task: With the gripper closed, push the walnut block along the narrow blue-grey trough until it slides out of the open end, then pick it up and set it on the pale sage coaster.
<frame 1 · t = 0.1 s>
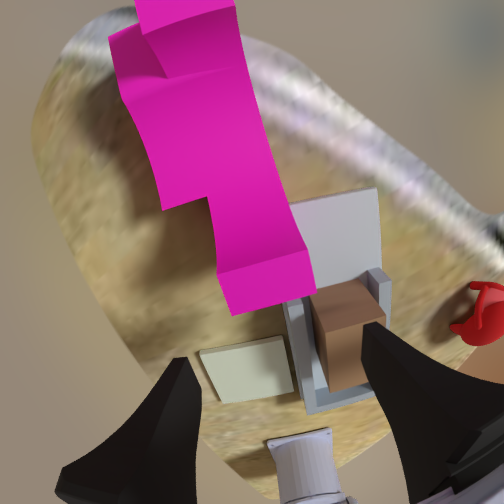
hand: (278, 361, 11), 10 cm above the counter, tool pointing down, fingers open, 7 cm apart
magenta cradle bracket: (210, 142, 17), on the counter, touching trough deck
red rounded piece: (469, 301, 24), on the counter
walnut block: (336, 316, 22), point 1 cm above the counter, touching trough deck
sage coaster: (249, 371, 24), on the counter
trough deck: (334, 312, 22), on the counter
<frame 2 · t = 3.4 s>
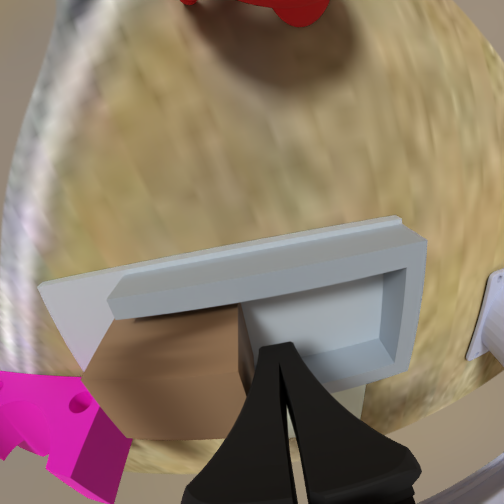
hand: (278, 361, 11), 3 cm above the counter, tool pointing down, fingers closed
magenta cradle bracket: (64, 401, 17), on the counter, touching trough deck
walnut block: (186, 334, 14), point 1 cm above the counter, touching gripper, trough deck
sage coaster: (312, 402, 17), on the counter
trough deck: (216, 323, 14), on the counter
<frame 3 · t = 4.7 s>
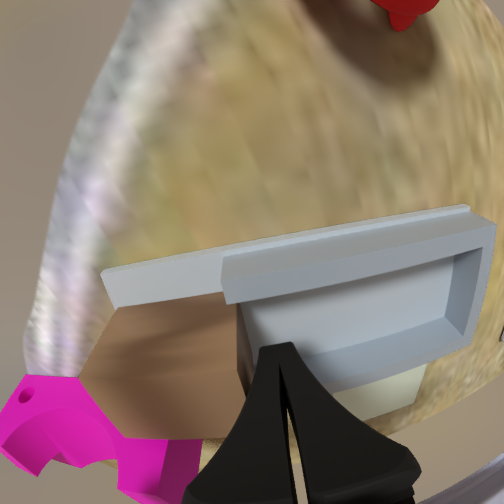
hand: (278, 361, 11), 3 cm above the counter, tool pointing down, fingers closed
magenta cradle bracket: (109, 405, 17), on the counter, touching trough deck
walnut block: (185, 333, 14), point 1 cm above the counter, touching gripper, trough deck
sage coaster: (378, 384, 17), on the counter
trough deck: (309, 307, 14), on the counter
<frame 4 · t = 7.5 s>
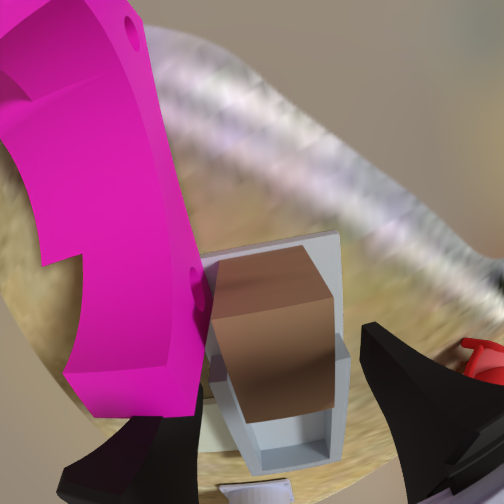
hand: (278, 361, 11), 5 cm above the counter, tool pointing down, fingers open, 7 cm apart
magenta cradle bracket: (113, 172, 12), on the counter, touching gripper, trough deck
red rounded piece: (459, 358, 19), on the counter
walnut block: (270, 305, 15), point 1 cm above the counter, touching trough deck
sage coaster: (187, 426, 19), on the counter
trough deck: (281, 379, 18), on the counter
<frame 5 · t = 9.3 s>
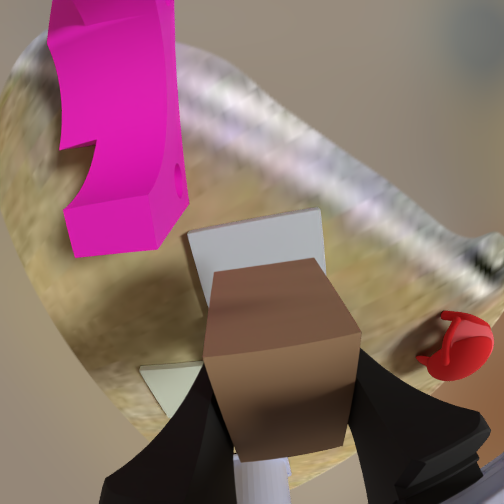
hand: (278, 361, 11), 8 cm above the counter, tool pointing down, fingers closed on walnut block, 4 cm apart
magenta cradle bracket: (129, 92, 14), on the counter
red rounded piece: (441, 331, 22), on the counter
walnut block: (271, 326, 12), point 7 cm above the counter, touching gripper
sage coaster: (191, 390, 23), on the counter
trough deck: (275, 340, 21), on the counter
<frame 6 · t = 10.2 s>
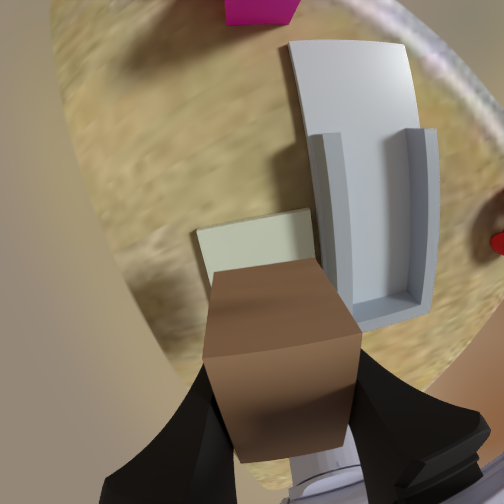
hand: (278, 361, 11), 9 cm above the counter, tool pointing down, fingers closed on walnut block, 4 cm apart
walnut block: (271, 326, 12), point 7 cm above the counter, touching gripper
sage coaster: (262, 267, 19), on the counter
trough deck: (371, 182, 17), on the counter
when the fingers open (3 cm above the counter, at t = 11.6 s): walnut block stays where it is, resting on sage coaster.
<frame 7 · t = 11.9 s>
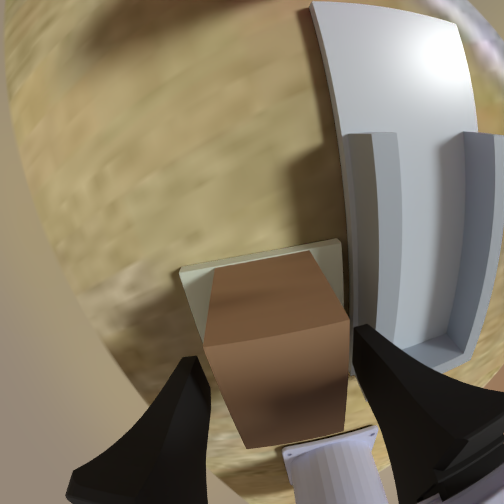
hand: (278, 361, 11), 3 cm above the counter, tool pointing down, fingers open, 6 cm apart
walnut block: (273, 317, 13), point 1 cm above the counter, touching sage coaster
sage coaster: (271, 318, 14), on the counter
trough deck: (419, 203, 12), on the counter
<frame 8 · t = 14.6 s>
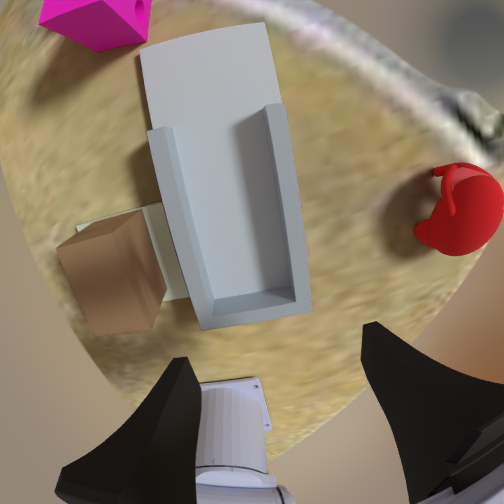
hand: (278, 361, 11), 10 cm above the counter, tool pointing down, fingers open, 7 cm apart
red rounded piece: (439, 201, 19), on the counter
walnut block: (129, 255, 19), point 1 cm above the counter, touching sage coaster
sage coaster: (132, 258, 20), on the counter
trough deck: (227, 171, 18), on the counter
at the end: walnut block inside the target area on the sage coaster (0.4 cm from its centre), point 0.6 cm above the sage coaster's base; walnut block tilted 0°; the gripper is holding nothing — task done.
